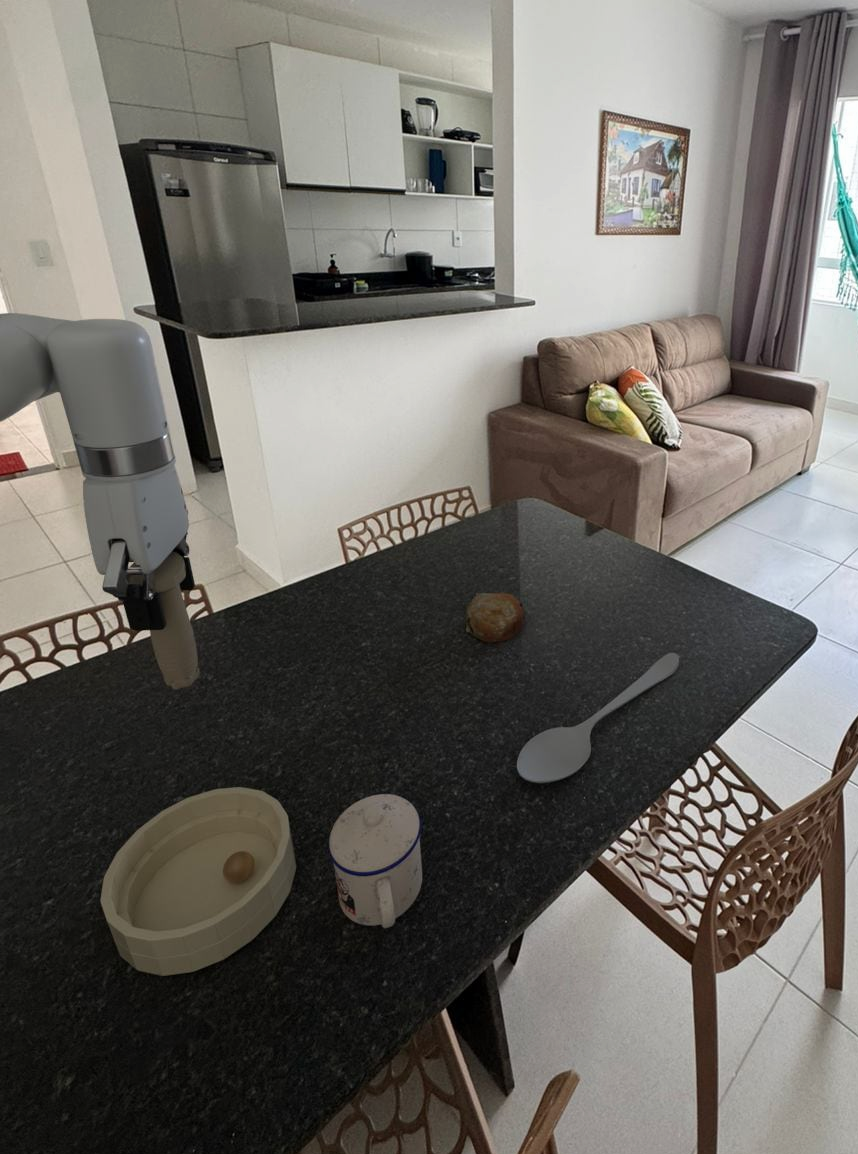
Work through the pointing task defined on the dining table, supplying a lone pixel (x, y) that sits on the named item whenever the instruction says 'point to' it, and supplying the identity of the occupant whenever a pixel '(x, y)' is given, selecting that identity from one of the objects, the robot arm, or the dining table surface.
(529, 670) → the dining table surface
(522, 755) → the spoon
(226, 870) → the egg
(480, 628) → the bread roll
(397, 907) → the teacup with lid
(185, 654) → the handle
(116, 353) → the robot arm
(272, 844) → the bowl
